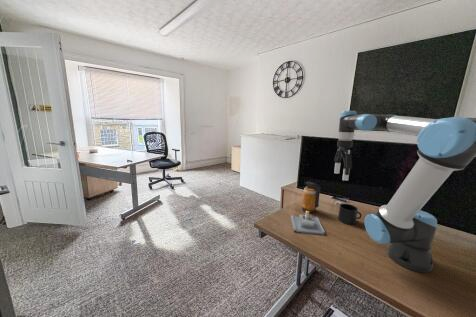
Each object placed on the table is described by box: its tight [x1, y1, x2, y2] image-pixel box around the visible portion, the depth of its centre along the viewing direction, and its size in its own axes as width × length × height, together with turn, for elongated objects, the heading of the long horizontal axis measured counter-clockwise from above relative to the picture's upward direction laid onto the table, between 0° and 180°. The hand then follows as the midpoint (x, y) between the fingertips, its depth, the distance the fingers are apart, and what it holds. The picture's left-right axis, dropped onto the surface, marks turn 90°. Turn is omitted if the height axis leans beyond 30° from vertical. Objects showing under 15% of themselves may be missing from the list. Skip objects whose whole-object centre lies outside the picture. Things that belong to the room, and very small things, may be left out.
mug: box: [337, 203, 363, 225], centre depth 116 cm, size 9×12×9 cm
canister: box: [301, 181, 322, 213], centre depth 128 cm, size 9×11×20 cm
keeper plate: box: [290, 211, 326, 236], centre depth 111 cm, size 16×16×9 cm
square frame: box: [298, 213, 314, 228], centre depth 111 cm, size 7×7×4 cm
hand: (340, 176), depth 110 cm, fingers open, 13 cm apart
